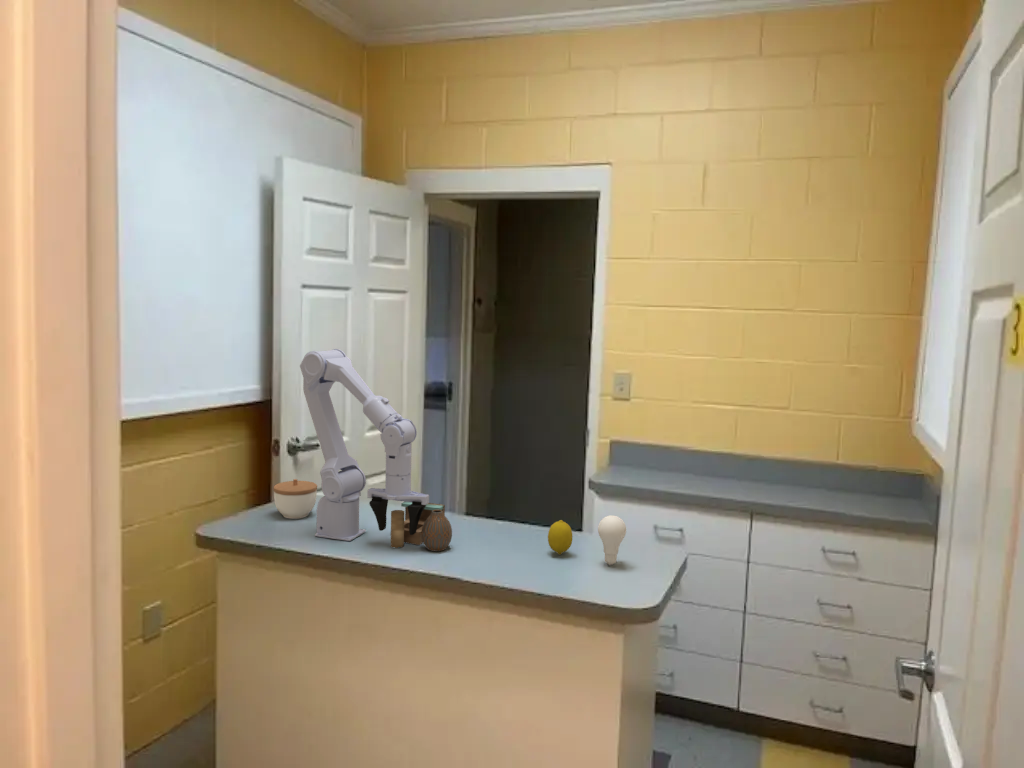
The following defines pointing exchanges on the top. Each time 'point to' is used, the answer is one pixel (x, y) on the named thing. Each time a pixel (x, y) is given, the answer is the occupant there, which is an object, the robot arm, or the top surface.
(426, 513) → the brown boxy frame piece
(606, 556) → the lightbulb
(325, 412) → the robot arm
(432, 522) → the vase
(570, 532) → the lemon
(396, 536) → the oak peg
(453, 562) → the top surface
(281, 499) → the lidded jar
